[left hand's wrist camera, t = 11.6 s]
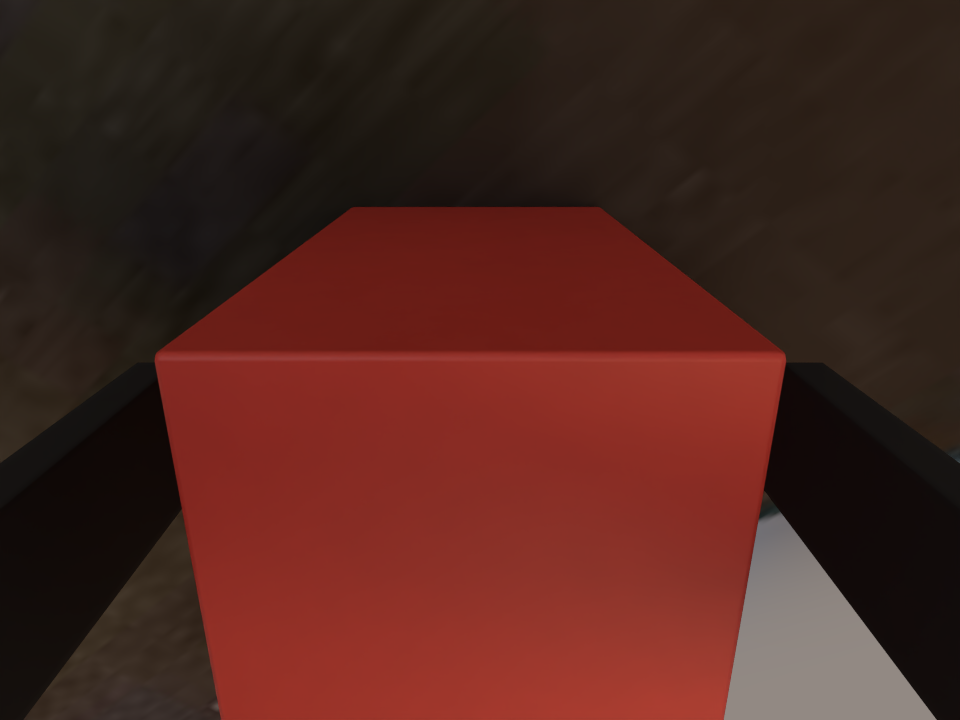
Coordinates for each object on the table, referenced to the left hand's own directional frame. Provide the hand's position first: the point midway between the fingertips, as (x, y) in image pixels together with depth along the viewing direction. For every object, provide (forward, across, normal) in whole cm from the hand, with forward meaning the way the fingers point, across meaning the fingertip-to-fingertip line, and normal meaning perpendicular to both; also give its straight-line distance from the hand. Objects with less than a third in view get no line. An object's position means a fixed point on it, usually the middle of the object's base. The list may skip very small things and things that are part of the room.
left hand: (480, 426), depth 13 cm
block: (+6, 0, 0) cm, 6 cm away
